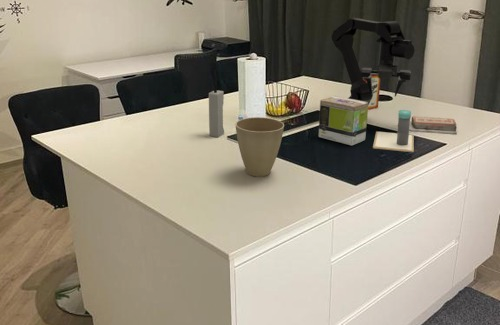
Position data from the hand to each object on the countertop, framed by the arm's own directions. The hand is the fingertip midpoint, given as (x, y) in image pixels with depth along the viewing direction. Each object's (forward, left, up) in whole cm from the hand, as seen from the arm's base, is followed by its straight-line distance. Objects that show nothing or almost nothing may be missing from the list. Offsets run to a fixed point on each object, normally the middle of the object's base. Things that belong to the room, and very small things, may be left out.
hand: (383, 95), depth 207 cm
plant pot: (-34, -60, -13) cm, 70 cm away
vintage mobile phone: (-59, -29, -13) cm, 67 cm away
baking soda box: (-8, +28, -13) cm, 32 cm away
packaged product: (+20, +4, -14) cm, 24 cm away
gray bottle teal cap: (+9, -20, -12) cm, 25 cm away
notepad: (+6, -17, -13) cm, 22 cm away
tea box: (-13, -19, -13) cm, 27 cm away
